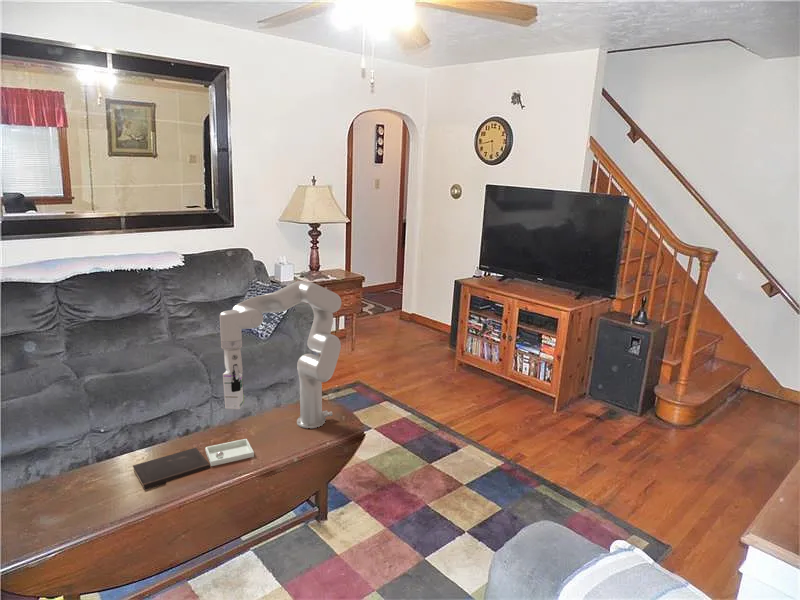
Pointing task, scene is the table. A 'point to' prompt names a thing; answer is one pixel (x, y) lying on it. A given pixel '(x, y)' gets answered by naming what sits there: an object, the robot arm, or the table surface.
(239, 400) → the syrup box
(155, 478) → the hardcover book
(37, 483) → the table surface
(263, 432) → the table surface
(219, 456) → the mixing ball
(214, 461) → the tray
